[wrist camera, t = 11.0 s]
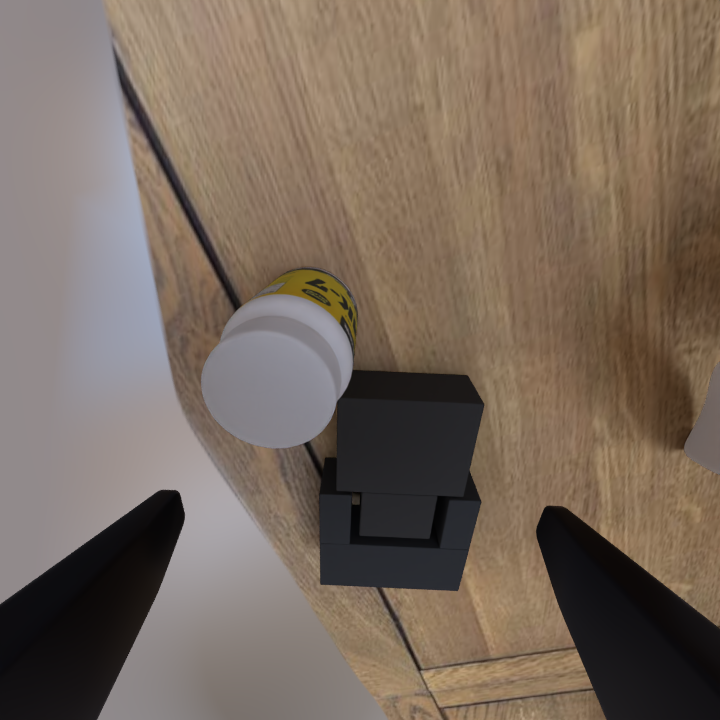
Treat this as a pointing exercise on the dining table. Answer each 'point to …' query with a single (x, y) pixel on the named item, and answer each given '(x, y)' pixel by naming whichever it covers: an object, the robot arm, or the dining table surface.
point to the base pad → (393, 543)
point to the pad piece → (405, 446)
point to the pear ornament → (707, 429)
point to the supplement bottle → (283, 360)
